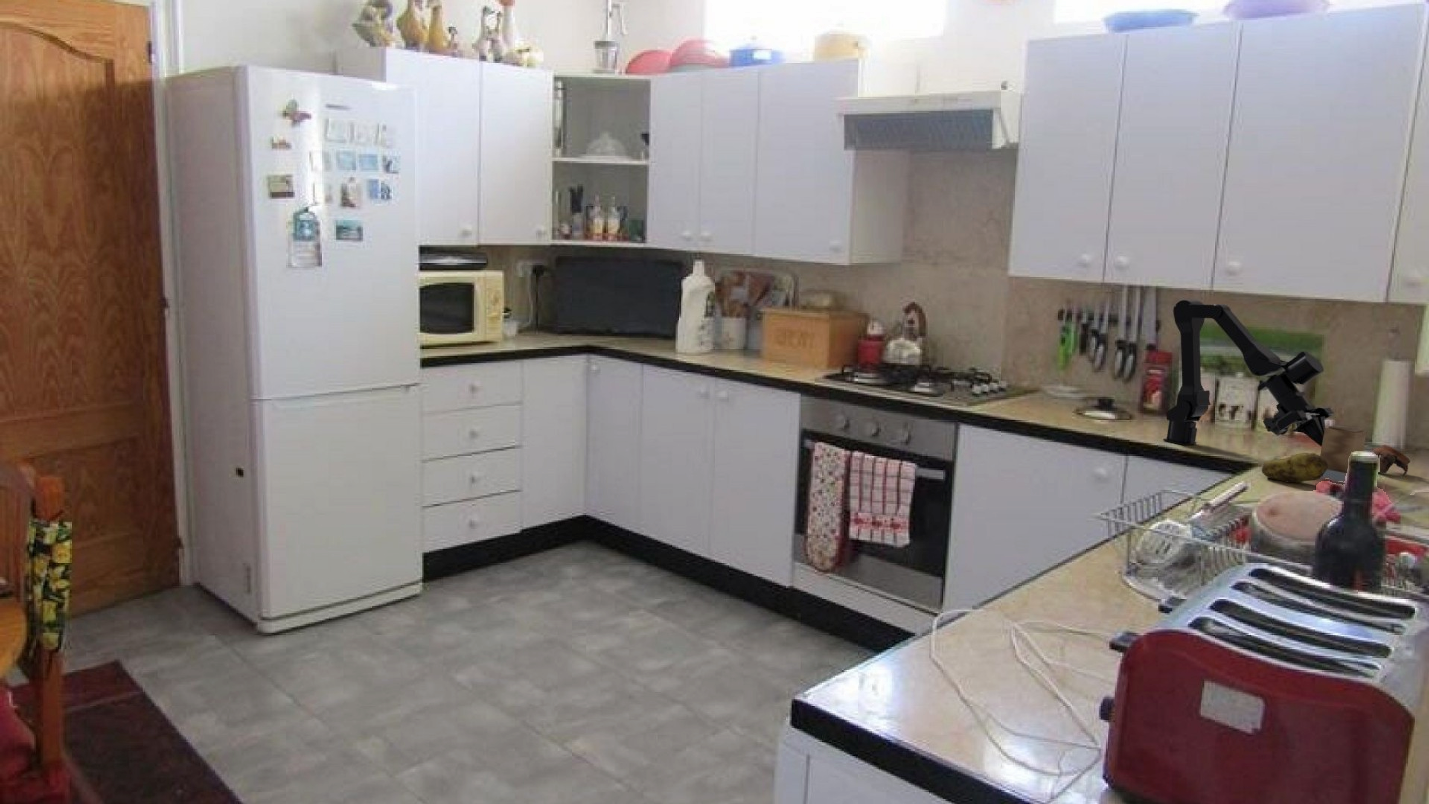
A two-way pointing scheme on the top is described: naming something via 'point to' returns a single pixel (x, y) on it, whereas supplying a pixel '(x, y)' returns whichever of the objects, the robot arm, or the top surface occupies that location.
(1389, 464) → the brown irregular pronged part
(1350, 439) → the crate
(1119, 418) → the top surface
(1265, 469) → the potato
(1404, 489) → the top surface
